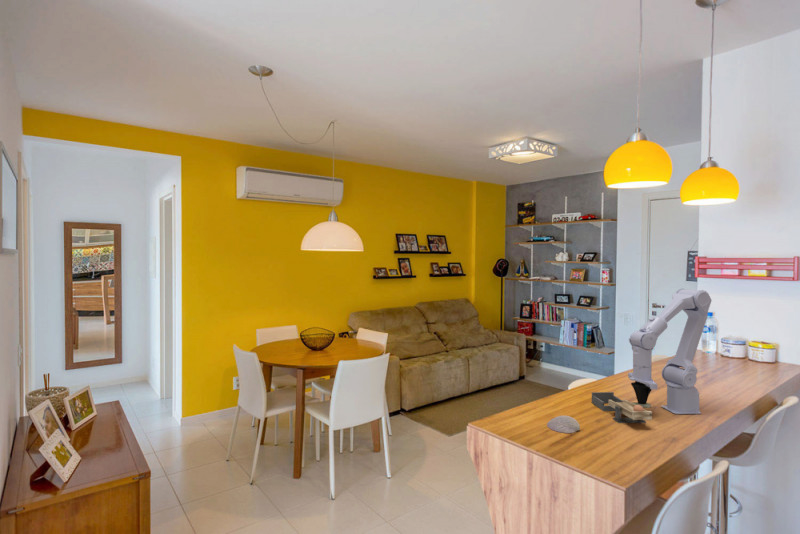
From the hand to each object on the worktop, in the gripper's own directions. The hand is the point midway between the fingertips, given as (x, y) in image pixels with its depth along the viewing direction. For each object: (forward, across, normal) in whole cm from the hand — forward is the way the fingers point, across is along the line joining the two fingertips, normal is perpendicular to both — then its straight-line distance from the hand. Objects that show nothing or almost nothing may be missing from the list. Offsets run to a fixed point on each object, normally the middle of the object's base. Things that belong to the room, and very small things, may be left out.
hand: (642, 403), depth 152 cm
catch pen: (+4, -8, -8) cm, 12 cm away
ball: (-2, +12, -8) cm, 14 cm away
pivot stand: (+4, +6, -8) cm, 11 cm away
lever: (+1, +6, -4) cm, 8 cm away
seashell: (+4, +11, -32) cm, 34 cm away
